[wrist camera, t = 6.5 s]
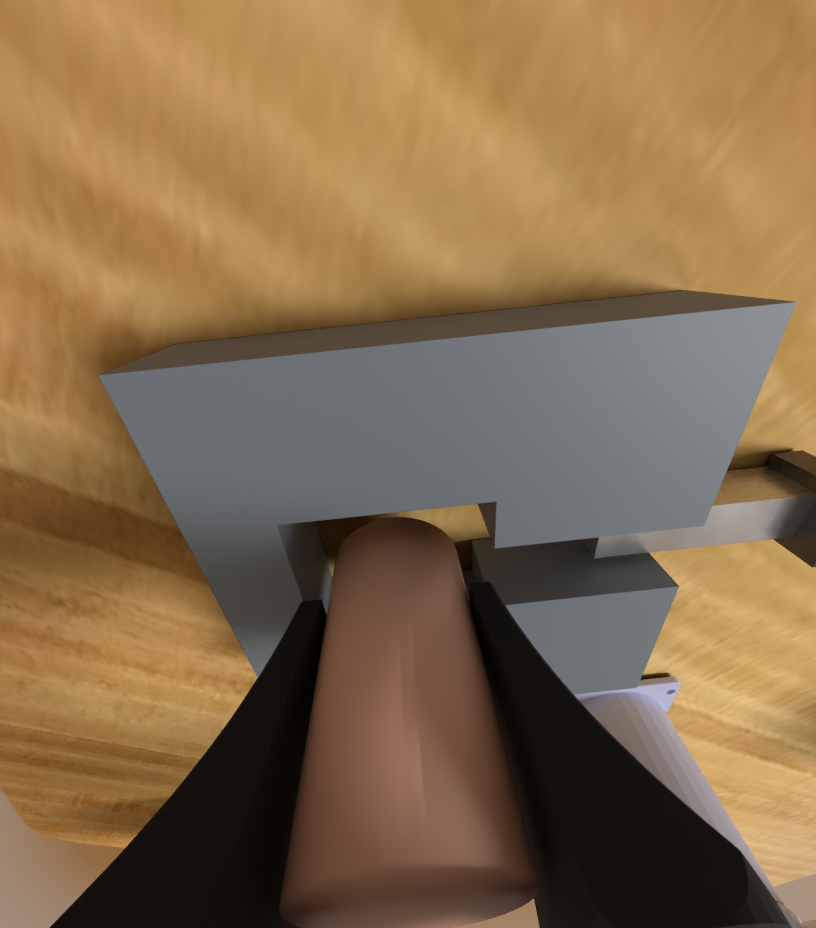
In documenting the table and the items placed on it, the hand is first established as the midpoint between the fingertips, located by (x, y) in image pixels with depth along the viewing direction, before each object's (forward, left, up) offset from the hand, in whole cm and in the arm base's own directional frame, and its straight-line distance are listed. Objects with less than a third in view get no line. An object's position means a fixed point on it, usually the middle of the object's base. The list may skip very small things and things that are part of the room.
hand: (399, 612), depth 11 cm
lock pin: (0, -12, -4) cm, 13 cm away
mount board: (0, -2, -4) cm, 5 cm away
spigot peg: (0, 0, -2) cm, 2 cm away
